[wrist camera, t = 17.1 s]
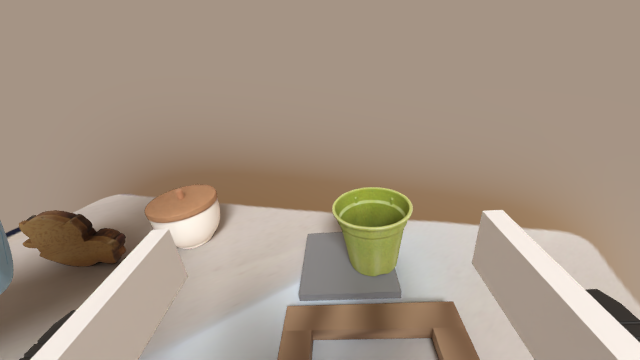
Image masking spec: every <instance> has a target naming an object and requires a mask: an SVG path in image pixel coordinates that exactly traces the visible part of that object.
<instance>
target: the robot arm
mask: <svg viewBox="0 0 640 360" xmlns="http://www.w3.org/2000/svg"><path fill="white" fill-rule="evenodd" d="M472 264H473V266H474V267H475V269H476V270H477V272H478V273H479V275H480V276H481V278H482V279H483V281H484V283H485V284H486V286H487V287H488V289H489V290H490V292H491V293H492V295H493V296H494V298H495V300H496V301H497V303H498V304H499V306H500V307H501V309H502V310H503V312H504V313H505V315H506V316H507V318H508V320H509V321H510V323H511V324H512V326H513V327H514V329H515V330H516V332H517V333H518V335H519V336H520V338H521V340H522V341H523V343H524V344H525V346H526V347H527V349H528V350H529V352H530V353H531V355H532V357H533V358H534V360H640V320H639V319H638V318H636V317H635V316H634V315H633V314H632V313H631V312H630V311H629V310H628V309H626V308H625V307H624V306H623V305H622V304H621V303H619V302H618V301H616V300H614V299H613V298H611V297H609V296H608V295H606V294H604V293H603V292H601V291H599V290H598V289H589V290H585V289H584V288H583V287H582V286H581V285H580V284H579V283H577V282H576V281H575V280H574V279H573V278H572V277H571V276H570V275H569V274H568V273H567V272H566V271H565V270H564V269H563V268H562V267H561V266H560V265H559V264H558V263H557V262H556V261H555V260H554V259H553V258H552V257H551V256H549V255H548V254H547V253H546V252H545V251H544V250H543V249H542V248H541V247H540V246H539V245H538V244H537V243H536V242H535V241H534V240H533V239H532V238H531V237H530V236H529V235H528V234H527V233H526V232H525V231H524V230H523V229H522V228H520V227H519V226H518V225H517V224H516V223H515V222H514V221H513V220H512V219H511V218H510V217H509V216H508V215H507V214H506V213H505V212H504V211H503V210H492V211H482V216H481V221H480V226H479V231H478V236H477V240H476V245H475V250H474V255H473V260H472ZM187 277H188V275H187V272H186V270H185V267H184V265H183V262H182V260H181V257H180V255H179V252H178V250H177V248H176V245H175V243H174V240H173V238H172V235H171V233H170V230H169V229H159V230H152V231H151V232H150V233H149V234H148V235H147V236H146V237H145V238H144V239H143V240H142V241H141V242H140V243H139V244H138V245H137V246H136V248H135V249H134V250H133V251H132V252H131V253H130V254H129V255H128V256H127V257H126V258H125V259H124V260H123V261H122V262H121V263H120V265H119V266H118V267H117V268H116V269H115V270H114V271H113V272H112V273H111V274H110V275H109V276H108V277H107V278H106V279H105V281H104V282H103V283H102V284H101V285H100V286H99V287H98V288H97V289H96V290H95V291H94V292H93V293H92V294H91V295H90V296H89V298H88V299H87V300H86V301H85V302H84V303H83V304H82V305H81V306H80V307H79V308H78V309H77V310H73V311H71V312H70V313H69V314H67V315H66V316H65V317H63V318H62V319H60V320H59V321H58V322H56V323H55V324H54V325H53V326H52V327H51V328H50V329H49V330H48V331H47V332H46V333H45V334H44V335H43V336H42V337H41V338H40V339H39V340H38V343H37V344H34V345H33V346H32V347H31V348H30V349H29V350H28V351H27V352H26V353H25V354H24V358H21V359H20V360H138V359H139V357H140V355H141V354H142V352H143V350H144V349H145V347H146V345H147V344H148V342H149V340H150V339H151V337H152V335H153V334H154V332H155V330H156V329H157V327H158V325H159V324H160V322H161V320H162V319H163V317H164V315H165V314H166V312H167V310H168V309H169V307H170V305H171V304H172V302H173V300H174V299H175V297H176V295H177V294H178V292H179V290H180V289H181V287H182V285H183V284H184V282H185V280H186V279H187ZM12 278H13V260H12V255H11V250H10V247H9V243H8V240H7V237H6V234H5V232H4V229H3V226H2V223H1V221H0V295H1V294H2V293H3V292H4V291H5V290H6V289H7V287H8V286H9V284H10V282H11V281H12Z"/></svg>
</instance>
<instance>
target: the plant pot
mask: <svg viewBox="0 0 640 360" xmlns="http://www.w3.org/2000/svg"><path fill="white" fill-rule="evenodd" d="M412 209H413V207H412V203H411V201H410V200H409V199H408V198H407V197H406V196H404V195H403V194H401V193H399V192H397V191H394V190H391V189H386V188H376V187H374V188H373V187H372V188H371V187H369V188H361V189H356V190H352V191H350V192H347V193H345V194H343V195H341V196H340V197H339V198H337V199H336V200H335V202H334V204H333V206H332V211H333V215H334V217H335V218H336V219H337V220H338V223H339V225H340V226H341V228H342V232H343V235H344V239H345V243H346V246H347V250H348V254H349V259H350V262H351V264H352V266H353V268H354V269H355V270H356V271H358V272H359V273H361V274H364V275H367V276H378V275H381V274H388V273H390V272H391V271H392V270H393V269H394V268H395V266H396V264H397V259H398V254H399V248H400V243H401V239H402V234H403V230H404V227H405V225H406V223H407V220H408V219H409V218H410V216H411V214H412Z"/></svg>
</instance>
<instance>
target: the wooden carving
mask: <svg viewBox="0 0 640 360" xmlns="http://www.w3.org/2000/svg"><path fill="white" fill-rule="evenodd" d="M19 227H20V229H21V231H22V232H23V233H24V234H25V235H26V236H28V237H29V239H28V240H26V241H25V242H24V243H23V245H24V246H25V247H28V248H37V249H38V250H39V251H40V252H41V254H40V256H41V257H43V258H45V259H48V260H51V261H55V262H58V263H61V264H65V265H70V266H90V265H94V264H95V263H97V262H104V263H116V262H117V261H118V260H119V259H120V258H121V256H122V255H123V254H124V253H125V252H126V249H125V247H124V243H125V238H126V237H125V235H124V234H122V233H120V232H119V231H117V230H114V229H110V228H109V229H107V228H104V229H100V230H99V231H98V232H96V231H95V229H94V228H92V223H91V222H90V221H89V220H88V219H87V218H85V217H84V216H83V215H81V214H78V215H76V214H74V213H69V212H64V211H57V210H54V211H46V212H42V213H40V214H39V215H37V216H36V215H33V216H31V217H30V218H29V219H27V220H26V221H22V222H21V223H19Z"/></svg>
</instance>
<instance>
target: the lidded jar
mask: <svg viewBox="0 0 640 360" xmlns="http://www.w3.org/2000/svg"><path fill="white" fill-rule="evenodd" d="M145 214H146V217H147V218H148V220H149V221H150V223H151V225H152V227H153V229H154V230H159V229H169V230H170V233H171V235H172V238H173V240H174V243H175V245H176V247H179V248H180V249H192V248H196V247H199V246H201V245H203V244H205V243H206V242H208V241H209V240H210V239H211V238H212V237H213V235H214V232H215V231H216V229H217V227H218V225H219V221H220V207H219V202H218V199H217V193H216V190H215V189H214V188H213V187H212V186H209V185H190V186H184V187H181V188H177V189H174V190H171V191H169V192H166V193H164V194H162V195H160V196H158V197H156V198H155V199H153V200H152V201H151V202H150V203H149V204H148V205H147V206H146V208H145Z"/></svg>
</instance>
